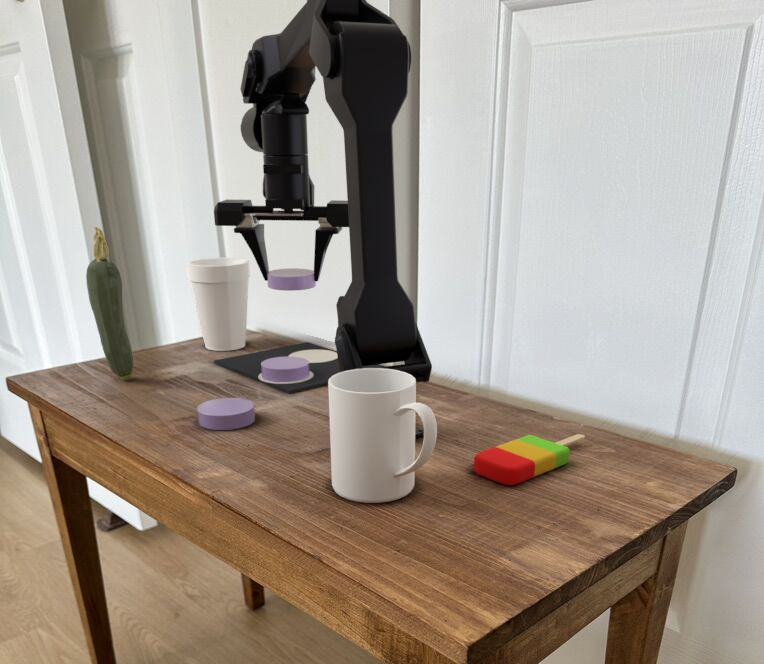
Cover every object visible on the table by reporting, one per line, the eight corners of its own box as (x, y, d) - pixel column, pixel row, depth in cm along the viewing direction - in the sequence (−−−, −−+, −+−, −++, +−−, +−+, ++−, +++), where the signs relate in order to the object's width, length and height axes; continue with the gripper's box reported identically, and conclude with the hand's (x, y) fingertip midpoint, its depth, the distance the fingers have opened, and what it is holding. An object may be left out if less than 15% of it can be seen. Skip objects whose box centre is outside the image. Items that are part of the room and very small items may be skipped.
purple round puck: (319, 376, 105) (318, 363, 104) (278, 385, 101) (277, 372, 100) (292, 366, 109) (291, 353, 108) (252, 374, 105) (251, 362, 105)
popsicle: (467, 471, 76) (468, 454, 75) (561, 436, 84) (562, 420, 84) (510, 489, 72) (511, 471, 71) (603, 450, 81) (605, 433, 80)
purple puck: (325, 286, 104) (325, 273, 103) (285, 292, 100) (285, 278, 99) (297, 279, 109) (297, 266, 108) (258, 285, 105) (257, 271, 104)
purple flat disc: (266, 421, 89) (264, 407, 89) (216, 434, 86) (214, 419, 85) (237, 408, 94) (235, 394, 93) (188, 419, 90) (186, 405, 89)
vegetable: (130, 386, 102) (105, 229, 94) (99, 386, 103) (71, 229, 94) (140, 377, 106) (117, 225, 98) (110, 377, 107) (84, 225, 98)
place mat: (388, 370, 109) (388, 366, 109) (287, 394, 99) (287, 390, 99) (307, 344, 123) (307, 341, 122) (212, 363, 113) (211, 360, 112)
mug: (315, 484, 73) (310, 378, 69) (380, 464, 78) (379, 363, 73) (395, 529, 65) (396, 412, 60) (462, 504, 69) (468, 393, 64)
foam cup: (236, 336, 128) (229, 255, 122) (266, 346, 122) (260, 262, 116) (185, 345, 123) (175, 261, 117) (213, 356, 116) (204, 268, 110)
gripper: (364, 153, 104) (364, 271, 111) (229, 152, 105) (239, 269, 112) (355, 156, 94) (357, 285, 101) (207, 155, 95) (219, 283, 102)
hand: (292, 280), depth 104 cm, fingers closed on purple puck, 6 cm apart
